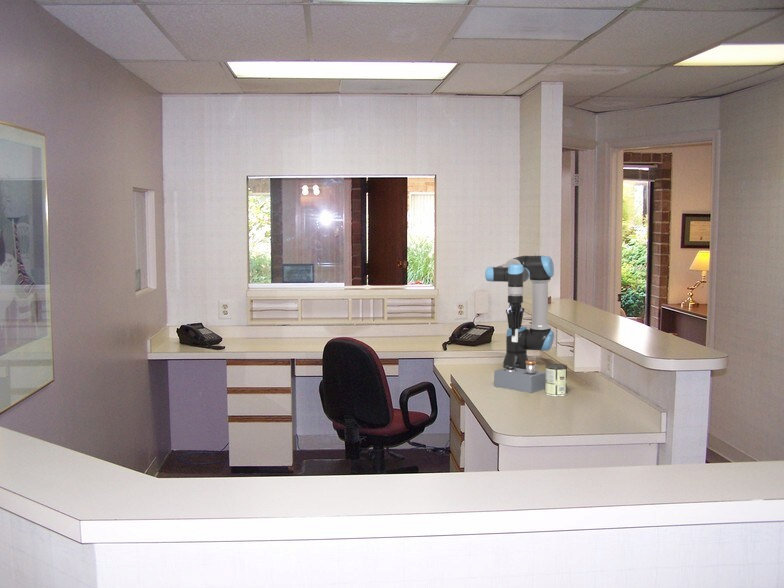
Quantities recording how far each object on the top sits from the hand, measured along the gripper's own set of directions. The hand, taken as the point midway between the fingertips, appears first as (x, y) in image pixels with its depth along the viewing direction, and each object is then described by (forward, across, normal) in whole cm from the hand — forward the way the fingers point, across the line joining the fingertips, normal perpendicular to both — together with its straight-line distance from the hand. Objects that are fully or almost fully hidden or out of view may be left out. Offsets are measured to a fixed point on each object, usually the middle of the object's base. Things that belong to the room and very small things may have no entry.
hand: (514, 341), depth 359 cm
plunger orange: (+17, -1, +9) cm, 20 cm away
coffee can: (+23, 0, +24) cm, 34 cm away
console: (+23, 0, +3) cm, 23 cm away
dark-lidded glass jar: (+21, 0, -3) cm, 21 cm away
